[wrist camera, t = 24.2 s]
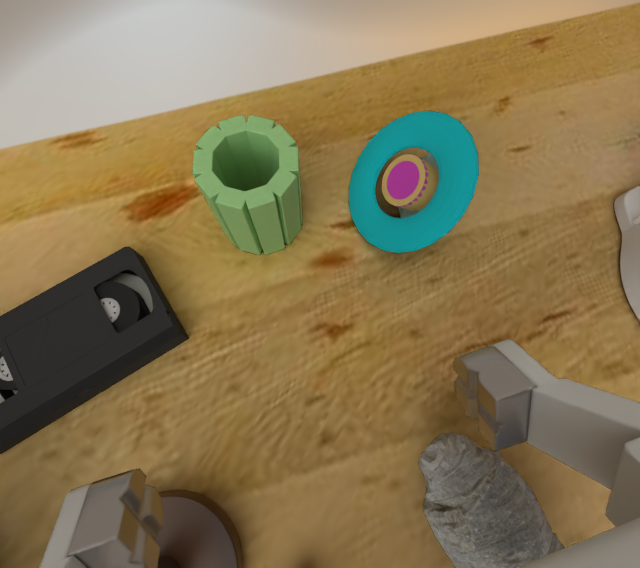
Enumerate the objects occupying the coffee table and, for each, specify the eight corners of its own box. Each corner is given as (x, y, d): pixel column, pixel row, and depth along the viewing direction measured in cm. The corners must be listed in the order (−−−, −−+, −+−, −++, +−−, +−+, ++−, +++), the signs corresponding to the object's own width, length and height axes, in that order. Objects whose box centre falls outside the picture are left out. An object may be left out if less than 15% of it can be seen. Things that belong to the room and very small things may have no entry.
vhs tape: (141, 253, 30) (129, 244, 28) (189, 338, 28) (180, 334, 26) (-39, 354, 28) (-65, 351, 26) (1, 453, 26) (-24, 458, 24)
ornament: (495, 261, 27) (511, 114, 26) (466, 254, 24) (484, 89, 23) (373, 256, 34) (384, 143, 34) (339, 250, 31) (351, 126, 31)
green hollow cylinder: (270, 167, 32) (256, 97, 25) (319, 224, 31) (320, 168, 23) (206, 209, 31) (171, 150, 24) (254, 271, 30) (233, 229, 22)
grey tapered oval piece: (516, 737, 20) (610, 788, 14) (385, 479, 28) (410, 441, 22) (601, 667, 22) (715, 686, 16) (456, 443, 30) (496, 400, 24)
